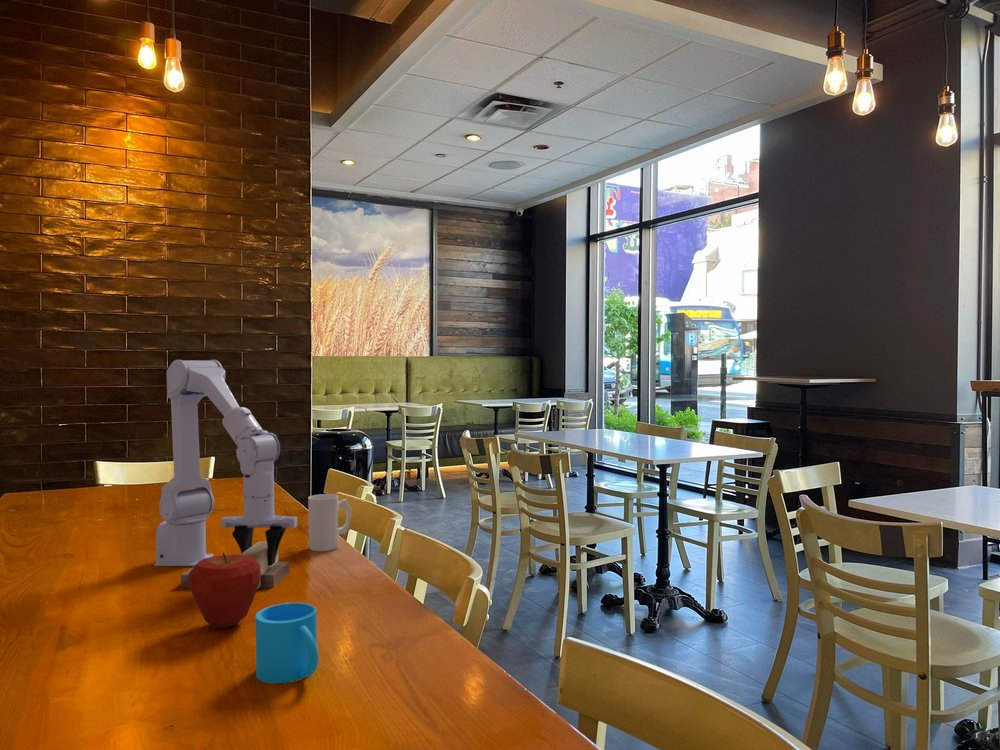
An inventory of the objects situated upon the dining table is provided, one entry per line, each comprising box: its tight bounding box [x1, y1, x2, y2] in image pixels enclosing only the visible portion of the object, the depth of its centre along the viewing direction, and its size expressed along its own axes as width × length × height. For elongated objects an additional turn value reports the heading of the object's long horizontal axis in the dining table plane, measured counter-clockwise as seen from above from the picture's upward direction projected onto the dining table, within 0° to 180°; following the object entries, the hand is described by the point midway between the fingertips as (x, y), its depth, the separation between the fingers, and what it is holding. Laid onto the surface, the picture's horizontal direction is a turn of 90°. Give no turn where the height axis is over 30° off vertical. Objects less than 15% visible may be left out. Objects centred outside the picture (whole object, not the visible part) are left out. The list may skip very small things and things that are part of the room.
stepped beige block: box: [239, 540, 280, 590], centre depth 138 cm, size 4×12×6 cm, turn 178°
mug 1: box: [255, 602, 319, 684], centre depth 96 cm, size 12×8×8 cm
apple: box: [188, 552, 261, 629], centre depth 115 cm, size 11×11×12 cm
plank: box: [180, 561, 290, 588], centre depth 139 cm, size 18×9×2 cm, turn 88°
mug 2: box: [307, 493, 352, 553], centre depth 163 cm, size 10×7×12 cm, turn 120°
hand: (259, 564), depth 139 cm, fingers closed on stepped beige block, 4 cm apart
